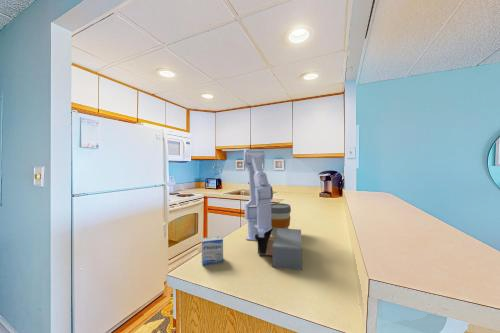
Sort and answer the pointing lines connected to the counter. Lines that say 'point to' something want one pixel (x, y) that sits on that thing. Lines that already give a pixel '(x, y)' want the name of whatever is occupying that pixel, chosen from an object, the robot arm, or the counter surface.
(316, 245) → the counter surface
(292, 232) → the block
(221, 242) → the medicine box
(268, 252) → the grey and tan block
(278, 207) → the reusable coffee cup
